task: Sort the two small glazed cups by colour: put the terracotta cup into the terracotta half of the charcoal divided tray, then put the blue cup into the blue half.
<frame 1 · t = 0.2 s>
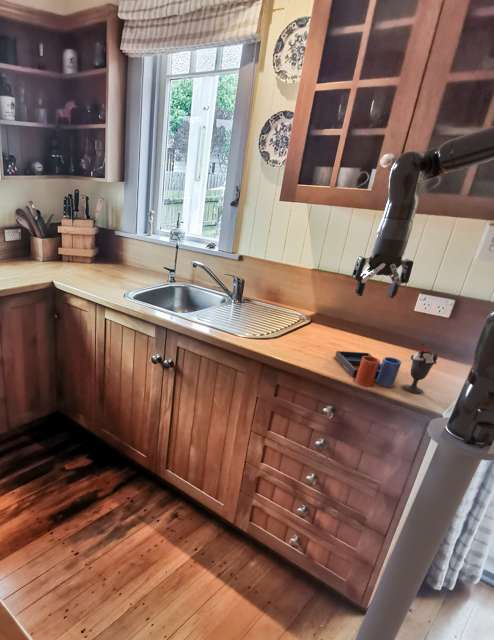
hand: (374, 296, 128), 28 cm above the worktop, tool pointing down, fingers open, 8 cm apart
terracotta cup: (363, 382, 144), on the worktop
blue cup: (384, 383, 144), on the worktop
tray: (359, 368, 154), on the worktop
sundae: (412, 390, 141), on the worktop
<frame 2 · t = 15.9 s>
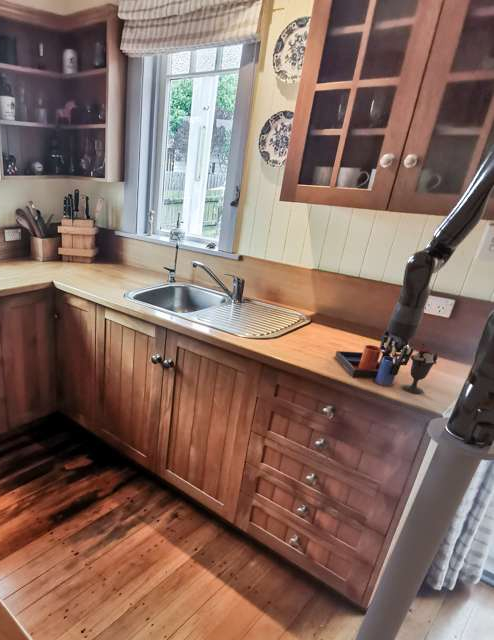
hand: (387, 369, 143), 4 cm above the worktop, tool pointing down, fingers open, 6 cm apart
terracotta cup: (365, 370, 150), point 1 cm above the worktop, touching gripper, hand, tray
blue cup: (383, 382, 144), on the worktop, touching gripper
everything else where it was.
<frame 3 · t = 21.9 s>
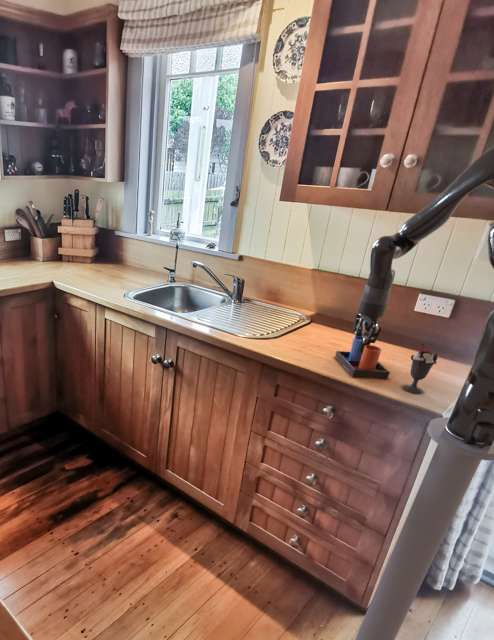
hand: (359, 349, 155), 5 cm above the worktop, tool pointing down, fingers closed on blue cup, 5 cm apart
terracotta cup: (365, 370, 150), point 1 cm above the worktop, touching gripper, tray
blue cup: (355, 361, 156), point 1 cm above the worktop, touching gripper, tray
everything else where it was.
when the fingers open (6 cm above the worktop, at t = 26.2 s): blue cup stays where it is, resting on tray.
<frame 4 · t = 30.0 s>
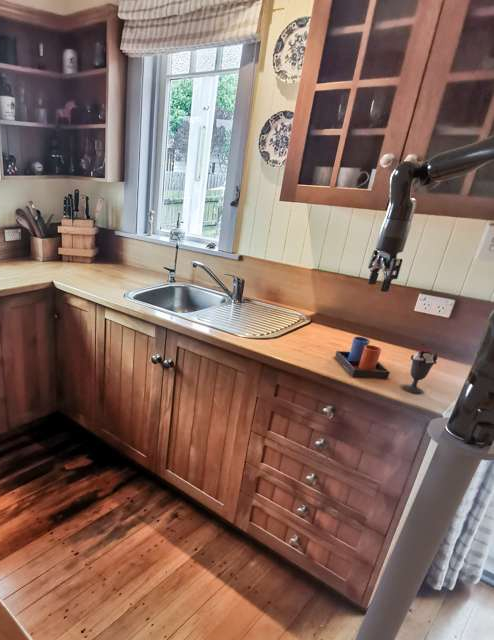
hand: (377, 287, 146), 26 cm above the worktop, tool pointing down, fingers open, 8 cm apart
terracotta cup: (365, 370, 150), point 1 cm above the worktop, touching tray
blue cup: (355, 361, 156), point 1 cm above the worktop, touching tray
everything else where it was.
at the end: terracotta cup inside the target area on the tray (0.1 cm from its centre), point 0.8 cm above the tray's base; blue cup inside the target area on the tray (0.3 cm from its centre), point 0.8 cm above the tray's base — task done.
